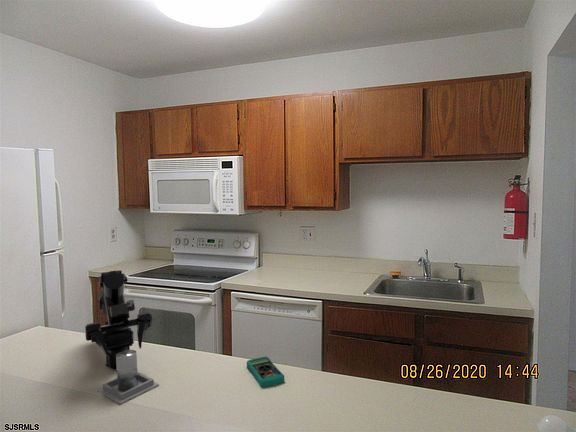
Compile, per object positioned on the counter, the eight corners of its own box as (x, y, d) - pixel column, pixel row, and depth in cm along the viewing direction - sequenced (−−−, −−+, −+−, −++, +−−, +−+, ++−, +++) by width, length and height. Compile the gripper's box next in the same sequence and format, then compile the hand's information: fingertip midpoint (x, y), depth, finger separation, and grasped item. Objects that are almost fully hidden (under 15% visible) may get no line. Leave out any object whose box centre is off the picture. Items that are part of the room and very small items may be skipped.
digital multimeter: (261, 390, 116) (261, 380, 116) (246, 368, 130) (245, 359, 129) (285, 384, 119) (285, 374, 119) (268, 363, 132) (267, 354, 132)
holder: (135, 374, 127) (135, 368, 127) (158, 385, 120) (158, 379, 120) (98, 391, 118) (97, 385, 118) (120, 404, 110) (120, 397, 110)
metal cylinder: (137, 380, 122) (135, 348, 122) (139, 388, 118) (137, 355, 117) (117, 384, 120) (115, 352, 119) (118, 393, 115) (116, 359, 114)
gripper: (82, 298, 119) (89, 347, 111) (148, 287, 129) (159, 332, 120) (82, 316, 127) (89, 364, 118) (145, 305, 136) (155, 348, 128)
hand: (124, 351), depth 121 cm, fingers open, 9 cm apart
